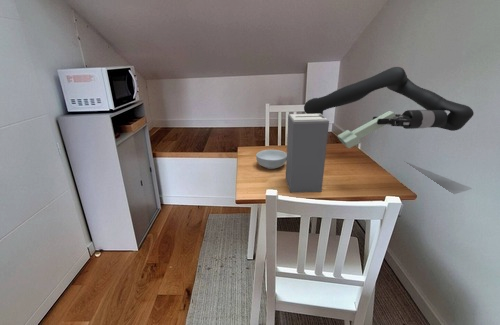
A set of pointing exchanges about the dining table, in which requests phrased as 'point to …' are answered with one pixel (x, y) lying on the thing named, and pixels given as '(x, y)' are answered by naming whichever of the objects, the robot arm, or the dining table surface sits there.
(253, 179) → the dining table surface
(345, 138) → the sage t bar
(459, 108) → the robot arm
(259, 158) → the cereal bowl
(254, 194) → the dining table surface
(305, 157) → the tall grey slotted pedestal
